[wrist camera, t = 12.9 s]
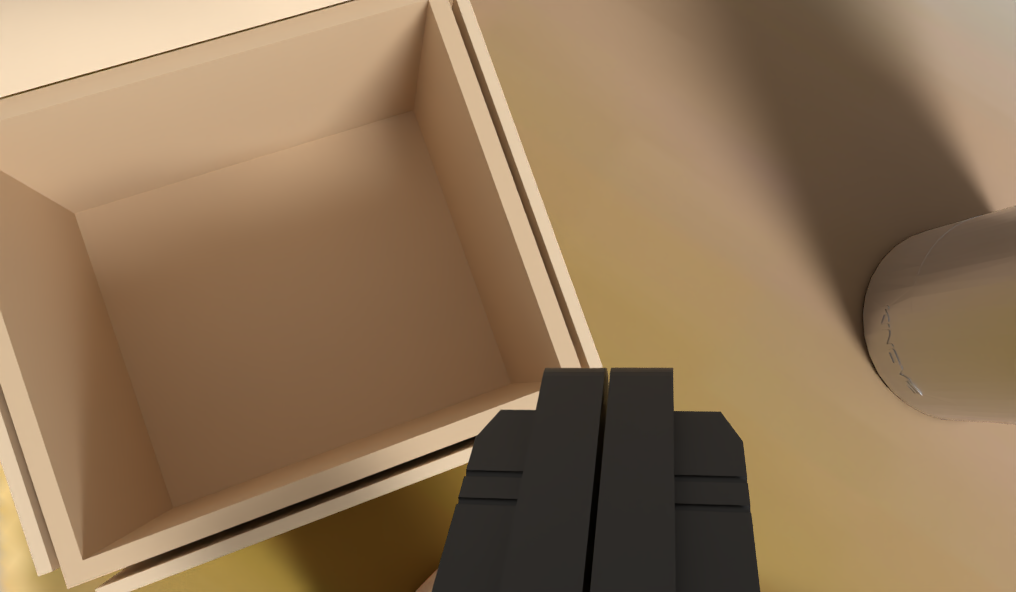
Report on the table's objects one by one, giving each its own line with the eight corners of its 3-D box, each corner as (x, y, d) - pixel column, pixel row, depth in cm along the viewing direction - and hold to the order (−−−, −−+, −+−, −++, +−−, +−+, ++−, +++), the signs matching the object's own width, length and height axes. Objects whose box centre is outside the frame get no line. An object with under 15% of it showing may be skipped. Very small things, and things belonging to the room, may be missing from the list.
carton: (435, 93, 40) (460, -30, 29) (546, 401, 40) (618, 406, 28) (43, 212, 37) (-111, 130, 26) (154, 547, 37) (50, 622, 25)
